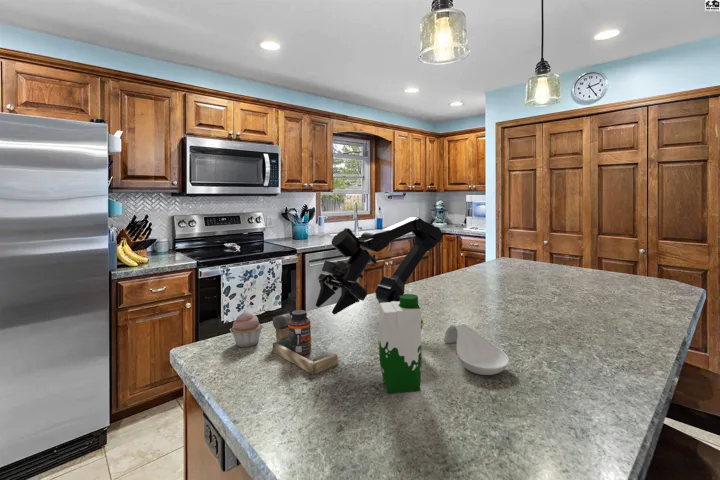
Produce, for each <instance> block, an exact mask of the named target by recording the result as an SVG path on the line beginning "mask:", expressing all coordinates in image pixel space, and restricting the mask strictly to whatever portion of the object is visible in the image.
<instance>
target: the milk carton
mask: <svg viewBox="0 0 720 480" xmlns="http://www.w3.org/2000/svg"><path fill="white" fill-rule="evenodd" d="M378 310H379V312H378V353H379V366H380V371H381V375H382V376H381V377H382V380H383V383H384V386H385V390H386V393H387V394H396V393H397V394H398V393H411V392H412V393H413V392H420V391H421V381H422V380H421V378H422V329H421V318H422V310H421V308H420V305H419V296H418V295H417V294H413V293H412V294H410V293H406V294H405V293H404V294H403V295H401V296H400V301H397V302H396V301H391V302H386V303H380V304H379V309H378Z"/></svg>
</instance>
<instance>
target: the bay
mask: <svg viewBox="0 0 720 480" xmlns="http://www.w3.org/2000/svg"><path fill="white" fill-rule="evenodd" d="M272 353H274V354H276V355H278V356H280V357H281V358H283V359H285V360H286V361H288V362H290V363H292V364H294V365H296V366H297V367H299V368H301V369H303V370H304V371H306V372H307V373H308V374H309V373H310V374H312V375H315V374H317V373H319V372H322V371H324V370H325V371H326V370H327V369H329V368H332V367H335V366H337V365H339V361H338V358H339V356H338V354H337V353H333V354H330V355H328V356H326V357H323V358H319V359H318V360H315V361H313V360H311V359H309V358H307V357H305V356H304V355H299V354H297V353H296V352H294V351H292V350H290V349H289V338H288V339H284V340H281V341H278V342H276V341H275V342H272Z"/></svg>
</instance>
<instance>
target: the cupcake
mask: <svg viewBox="0 0 720 480" xmlns="http://www.w3.org/2000/svg"><path fill="white" fill-rule="evenodd" d="M263 327H264V325H262V324H261V323H260V322H259V318H258V317H257V315H255V314H253V313H251V312H249V311H248V310H246V309H245V310H243V312H242V313H240V314H239V315H238V316H237V317H236V318H235V320H234V322H233V323H232V328H230V329H229V331H230V332H231V334H232V336H233V339H234V341H235V344H236V346H237V347H241V348H248V347H253V346H256V345H257V344H258V343H259V341H260V336H261V332H262V329H263Z"/></svg>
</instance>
